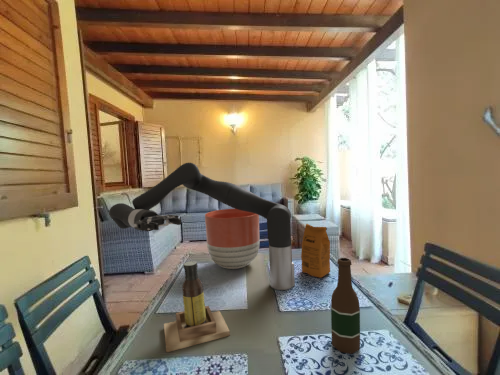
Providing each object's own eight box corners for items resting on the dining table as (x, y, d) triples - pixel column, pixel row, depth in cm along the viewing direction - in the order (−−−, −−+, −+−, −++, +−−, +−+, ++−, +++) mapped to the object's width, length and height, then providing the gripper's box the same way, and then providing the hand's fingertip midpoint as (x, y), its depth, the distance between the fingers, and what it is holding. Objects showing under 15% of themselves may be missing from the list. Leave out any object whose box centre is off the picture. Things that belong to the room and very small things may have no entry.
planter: (270, 261, 139) (268, 210, 137) (241, 281, 117) (238, 220, 115) (229, 254, 154) (226, 207, 152) (196, 270, 131) (193, 215, 129)
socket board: (219, 315, 91) (219, 302, 90) (229, 335, 80) (229, 320, 79) (164, 328, 85) (163, 314, 84) (166, 352, 73) (165, 336, 73)
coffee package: (311, 266, 131) (310, 221, 129) (333, 273, 121) (332, 225, 119) (297, 271, 125) (296, 225, 123) (319, 279, 115) (318, 229, 113)
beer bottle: (326, 337, 77) (324, 255, 75) (352, 334, 78) (351, 253, 76) (337, 356, 69) (336, 265, 67) (366, 353, 70) (365, 263, 68)
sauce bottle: (207, 319, 85) (203, 258, 84) (204, 331, 79) (200, 266, 78) (187, 321, 85) (183, 259, 84) (182, 333, 79) (178, 267, 78)
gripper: (123, 212, 93) (148, 216, 82) (160, 206, 104) (186, 209, 93) (125, 234, 93) (150, 240, 83) (161, 225, 104) (187, 230, 94)
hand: (169, 224), depth 88 cm, fingers open, 8 cm apart
